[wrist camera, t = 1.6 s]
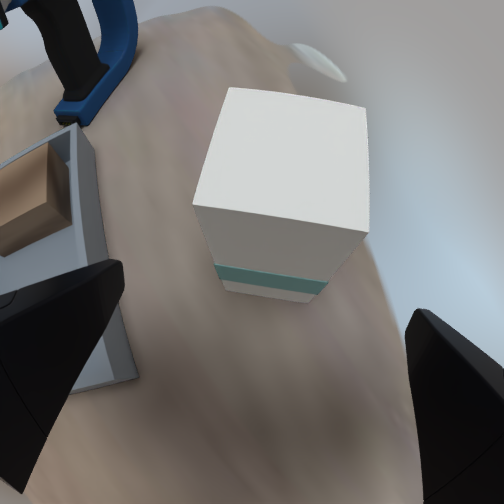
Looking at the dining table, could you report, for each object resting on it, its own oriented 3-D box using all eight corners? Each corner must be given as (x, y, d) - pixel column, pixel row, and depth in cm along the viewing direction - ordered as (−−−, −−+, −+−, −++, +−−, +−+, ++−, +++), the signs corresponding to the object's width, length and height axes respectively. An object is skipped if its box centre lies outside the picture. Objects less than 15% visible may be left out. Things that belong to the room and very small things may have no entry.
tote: (139, 377, 19) (114, 379, 15) (11, 405, 17) (-21, 407, 14) (94, 149, 25) (76, 122, 21) (-7, 202, 24) (-29, 184, 20)
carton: (308, 304, 21) (370, 234, 9) (224, 291, 21) (190, 205, 10) (317, 227, 22) (366, 107, 11) (240, 215, 23) (228, 86, 11)
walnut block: (72, 224, 22) (46, 201, 18) (4, 257, 21) (-25, 241, 17) (68, 168, 24) (48, 141, 20) (5, 202, 23) (-19, 182, 19)
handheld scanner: (46, 142, 26) (-44, 4, 8) (119, 49, 31) (82, -75, 13) (75, 146, 25) (-17, -13, 7) (148, 49, 30) (117, -86, 12)
